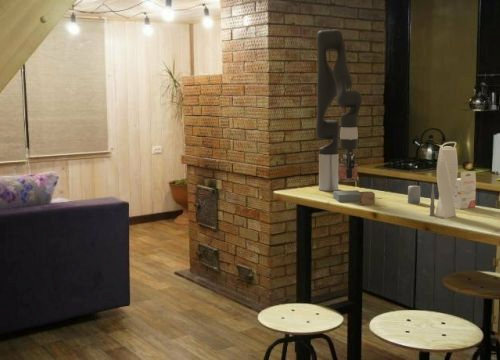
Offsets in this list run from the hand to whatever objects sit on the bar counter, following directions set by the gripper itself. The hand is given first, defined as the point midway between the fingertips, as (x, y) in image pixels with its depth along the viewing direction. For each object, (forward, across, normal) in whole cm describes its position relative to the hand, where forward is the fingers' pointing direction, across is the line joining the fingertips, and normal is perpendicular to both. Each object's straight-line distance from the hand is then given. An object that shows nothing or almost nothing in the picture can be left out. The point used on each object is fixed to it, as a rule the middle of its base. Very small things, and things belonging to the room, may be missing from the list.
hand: (348, 177), depth 266 cm
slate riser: (+10, 0, 0) cm, 10 cm away
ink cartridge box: (+10, +24, +41) cm, 49 cm away
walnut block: (+10, +12, +5) cm, 16 cm away
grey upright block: (+10, +12, +25) cm, 30 cm away
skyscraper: (+10, +40, +27) cm, 49 cm away
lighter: (+2, 0, 0) cm, 2 cm away
